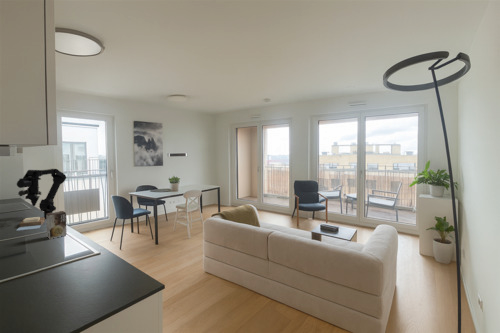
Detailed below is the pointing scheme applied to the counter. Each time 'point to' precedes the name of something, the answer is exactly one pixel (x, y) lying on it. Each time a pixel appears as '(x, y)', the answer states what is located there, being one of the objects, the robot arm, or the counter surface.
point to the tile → (31, 219)
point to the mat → (28, 227)
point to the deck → (32, 223)
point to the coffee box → (56, 224)
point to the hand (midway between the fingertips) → (33, 205)
